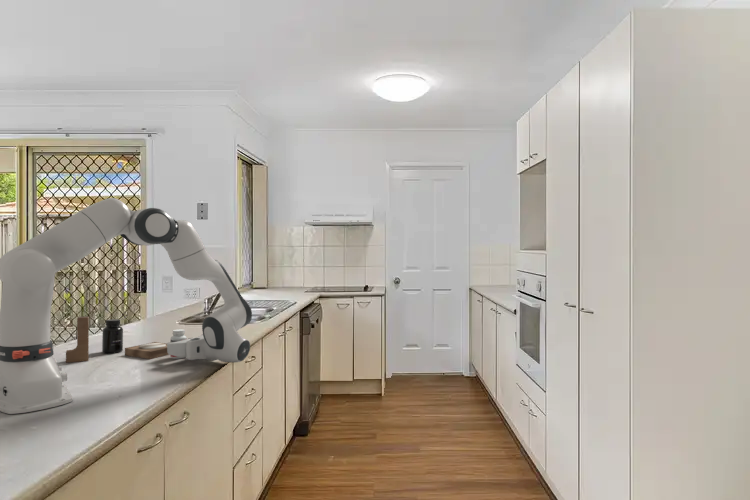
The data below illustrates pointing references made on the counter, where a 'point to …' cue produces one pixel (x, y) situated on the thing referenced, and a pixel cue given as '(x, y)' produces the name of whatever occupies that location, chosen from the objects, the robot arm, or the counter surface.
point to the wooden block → (80, 342)
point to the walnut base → (147, 350)
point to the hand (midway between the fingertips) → (179, 342)
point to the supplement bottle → (112, 337)
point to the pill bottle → (177, 339)
